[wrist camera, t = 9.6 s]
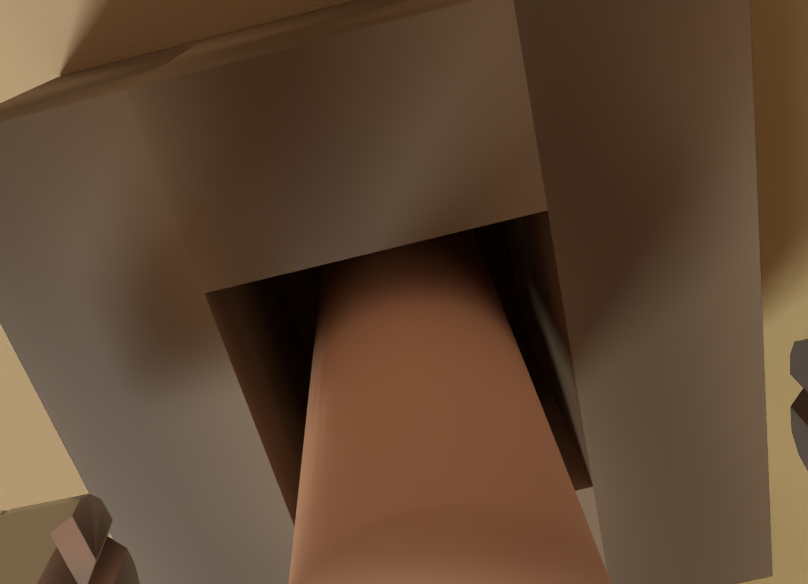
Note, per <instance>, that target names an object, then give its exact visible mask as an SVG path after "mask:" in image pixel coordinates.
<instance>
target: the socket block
mask: <svg viewBox="0 0 808 584" xmlns="http://www.w3.org/2000/svg"><path fill="white" fill-rule="evenodd" d="M502 221H505V222H506V227H507V232H508V237H509V243H510V248H511V253H512V258H513V264H514V269H515V274H516V279H517V285H518V290H519V295H520V300H521V306H522V311H523V316H524V322H525V327H526V332H527V335H524V336H519V337H515V340H516V342H517V345H518V347H519V350H520V352H521V355H522V357H523V360H524V362H525V365H526V368H527V370H528V373H529V375H530V378H531V380H532V383H533V385H534V388H535V390H536V393H537V396H538V398H539V401H540V403H541V406H542V408H543V411H544V413H545V416H546V418H547V421H548V423H549V426H550V429H551V431H552V434H553V436H554V439H555V441H556V444H557V446H558V449H559V451H560V454H561V457H562V459H563V462H564V464H565V467H566V469H567V472H568V474H569V477H570V479H571V482H572V485H573V487H574V490H575V492H576V495H577V497H578V500H579V502H580V505H581V507H582V510H583V512H584V515H585V518H586V520H587V523H588V525H589V528H590V530H591V533H592V535H593V538H594V540H595V543H596V546H597V548H598V551H599V553H600V556H601V558H602V561H603V563H604V566H605V568H606V571H607V573H608V576H609V579H610V581H611V584H738V583H743V582H747V581H752V580H756V579H761V578H766V577H770V576H773V575H772V550H771V524H770V499H769V473H768V448H767V422H766V397H765V371H764V345H763V320H762V294H761V269H760V243H759V218H758V192H757V166H756V141H755V115H754V90H753V64H752V39H751V13H750V0H355V1H352V2H348V3H344V4H340V5H336V6H332V7H328V8H324V9H321V10H317V11H313V12H309V13H305V14H301V15H297V16H293V17H290V18H286V19H282V20H278V21H274V22H270V23H266V24H262V25H258V26H255V27H251V28H247V29H243V30H239V31H235V32H231V33H227V34H224V35H220V36H216V37H212V38H208V39H204V40H200V41H196V42H193V43H189V44H185V45H181V46H177V47H173V48H169V49H165V50H161V51H158V52H154V53H150V54H146V55H142V56H138V57H134V58H130V59H127V60H123V61H119V62H115V63H111V64H107V65H103V66H99V67H96V68H92V69H88V70H84V71H80V72H76V73H72V74H68V75H65V76H61V77H57V78H55V79H53V80H51V81H48V82H46V83H44V84H42V85H40V86H37V87H35V88H33V89H31V90H29V91H26V92H24V93H22V94H20V95H18V96H16V97H13V98H11V99H9V100H7V101H5V102H2V103H0V323H1V325H2V327H3V329H4V331H5V333H6V335H7V337H8V339H9V341H10V343H11V345H12V346H13V348H14V350H15V352H16V354H17V356H18V358H19V360H20V362H21V364H22V366H23V367H24V369H25V371H26V373H27V375H28V377H29V379H30V381H31V383H32V385H33V387H34V389H35V390H36V392H37V394H38V396H39V398H40V400H41V402H42V404H43V406H44V408H45V410H46V411H47V413H48V415H49V417H50V419H51V421H52V423H53V425H54V427H55V429H56V431H57V433H58V434H59V436H60V438H61V440H62V442H63V444H64V446H65V448H66V450H67V452H68V454H69V455H70V457H71V459H72V461H73V463H74V465H75V467H76V469H77V471H78V473H79V475H80V477H81V478H82V480H83V482H84V484H85V486H86V488H87V490H88V492H89V494H91V495H94V496H96V497H99V498H101V499H102V501H103V503H104V505H105V506H106V508H107V510H108V512H109V513H110V515H111V517H112V519H113V521H112V525H111V528H110V531H109V532H110V534H111V536H112V538H113V540H114V541H116V542H118V543H120V544H121V545H123V546H125V547H126V548H128V550H129V552H130V555H131V557H132V559H133V561H134V563H135V566H136V570H137V574H138V578H139V582H140V584H289V575H290V565H291V556H292V547H293V537H294V528H295V519H296V509H297V500H298V491H299V481H300V472H301V463H302V453H303V444H304V435H305V425H306V416H307V407H308V397H309V388H310V379H311V369H312V363H311V360H310V357H309V354H308V351H307V348H306V345H305V342H304V339H303V336H302V333H301V330H300V327H299V324H298V321H297V318H296V315H295V312H294V309H293V306H292V303H291V300H290V297H289V294H288V291H287V288H286V285H285V282H284V279H283V276H282V275H283V274H287V273H291V272H295V271H299V270H303V269H307V268H311V267H316V266H320V265H324V264H328V263H332V262H336V261H340V260H345V259H349V258H353V257H357V256H361V255H365V254H369V253H373V252H378V251H382V250H386V249H390V248H394V247H398V246H402V245H407V244H411V243H415V242H419V241H423V240H427V239H431V238H435V237H440V236H444V235H448V234H452V233H456V232H460V231H464V230H469V229H473V228H477V227H481V226H485V225H489V224H493V223H497V222H502Z"/></svg>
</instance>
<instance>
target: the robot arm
mask: <svg viewBox="0 0 808 584" xmlns="http://www.w3.org/2000/svg"><path fill="white" fill-rule="evenodd" d="M790 374H791V375H792V376H793V377H794V379H795V380H796V381H797V382H798V383H799V384H800V385H801V386H802V387H803V390H802V391H801V392H800V394H799V395H798V397H797V398H796V400H795V401H794V402H793V404H792V405H791V426H792V434H793V437H794V440H795V444H796V447H797V450H798V454H799V456H800V458H801V459H802V461H803V463H804V465H805V467H806V469H807V470H808V339H804V340H800V341H795V342H794V345H793V348H792V351H791V354H790ZM112 521H113V519H112V517H111V515H110V513H109V512H108V510H107V508H106V506H105V505H104V503H103V501H102V499H101V498H99V497H96V496H94V495H91V494H86V495H81V496H76V497H71V498H66V499H60V500H55V501H50V502H45V503H40V504H35V505H30V506H25V507H19V508H14V509H11V510H9V511H0V584H140V582H139V578H138V574H137V570H136V566H135V563H134V561H133V559H132V557H131V555H130V552H129V550H128V548H126V547H125V546H123V545H121V544H120V543H118V542H116V541H114V540H113V539H111V538H109V537H108V534H109V531H110V528H111V525H112Z"/></svg>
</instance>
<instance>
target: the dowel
mask: <svg viewBox="0 0 808 584" xmlns="http://www.w3.org/2000/svg"><path fill="white" fill-rule="evenodd" d="M289 584H611V581H610V579H609V576H608V573H607V571H606V568H605V566H604V563H603V561H602V558H601V556H600V553H599V551H598V548H597V546H596V543H595V540H594V538H593V535H592V533H591V530H590V528H589V525H588V523H587V520H586V518H585V515H584V512H583V510H582V507H581V505H580V502H579V500H578V497H577V495H576V492H575V490H574V487H573V485H572V482H571V479H570V477H569V474H568V472H567V469H566V467H565V464H564V462H563V459H562V457H561V454H560V451H559V449H558V446H557V444H556V441H555V439H554V436H553V434H552V431H551V429H550V426H549V423H548V421H547V418H546V416H545V413H544V411H543V408H542V406H541V403H540V401H539V398H538V396H537V393H536V390H535V388H534V385H533V383H532V380H531V378H530V375H529V373H528V370H527V368H526V365H525V362H524V360H523V357H522V355H521V352H520V350H519V347H518V345H517V342H516V340H515V337H514V335H513V332H512V329H511V327H510V324H509V322H508V319H507V317H506V314H505V312H504V309H503V307H502V304H501V301H500V299H499V296H498V294H497V291H496V289H495V286H494V284H493V281H492V279H491V276H490V273H489V271H488V268H487V266H486V263H485V261H484V258H483V256H482V253H481V251H480V248H479V246H478V243H477V241H476V238H475V236H474V234H473V232H472V230H471V229H469V230H464V231H460V232H456V233H452V234H448V235H444V236H440V237H435V238H431V239H427V240H423V241H419V242H415V243H411V244H407V245H402V246H398V247H394V248H390V249H386V250H382V251H378V252H373V253H369V254H365V255H361V256H357V257H353V258H349V259H345V260H340V261H336V262H332V263H328V264H324V265H323V266H322V276H321V285H320V294H319V304H318V313H317V322H316V332H315V341H314V351H313V360H312V369H311V379H310V388H309V397H308V407H307V416H306V425H305V435H304V444H303V453H302V463H301V472H300V481H299V491H298V500H297V509H296V519H295V528H294V537H293V547H292V556H291V565H290V575H289Z"/></svg>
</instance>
